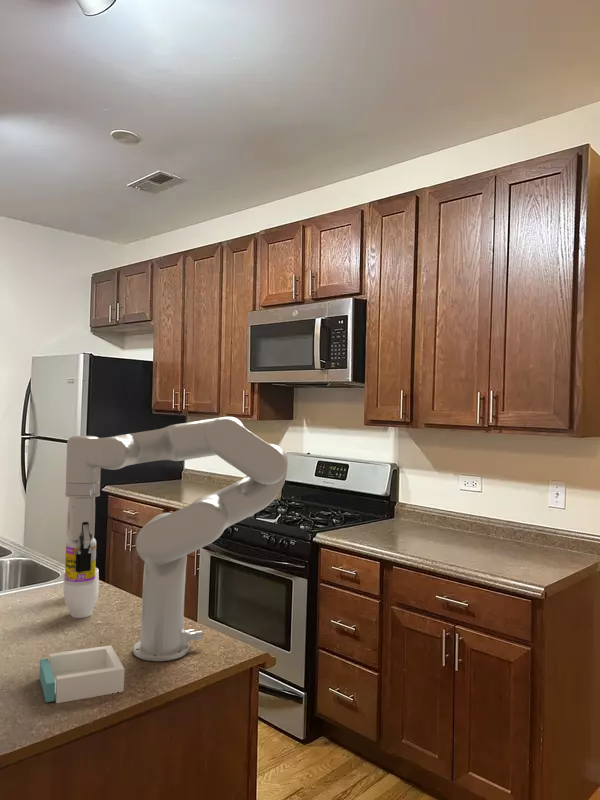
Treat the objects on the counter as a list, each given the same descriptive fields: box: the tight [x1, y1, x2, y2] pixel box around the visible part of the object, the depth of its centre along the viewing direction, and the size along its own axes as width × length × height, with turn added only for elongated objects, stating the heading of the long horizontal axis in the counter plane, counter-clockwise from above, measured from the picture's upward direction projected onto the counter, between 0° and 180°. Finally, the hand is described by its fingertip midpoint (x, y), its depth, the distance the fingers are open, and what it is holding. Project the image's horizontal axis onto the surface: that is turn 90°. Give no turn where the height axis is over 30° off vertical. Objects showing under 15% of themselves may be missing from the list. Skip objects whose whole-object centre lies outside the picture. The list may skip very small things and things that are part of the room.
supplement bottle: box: [64, 534, 97, 586], centre depth 145 cm, size 7×7×13 cm
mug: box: [63, 567, 100, 619], centre depth 168 cm, size 12×9×12 cm
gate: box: [38, 658, 55, 703], centre depth 124 cm, size 2×12×4 cm, turn 28°
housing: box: [48, 644, 125, 704], centre depth 127 cm, size 12×13×4 cm
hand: (80, 566), depth 145 cm, fingers closed on supplement bottle, 6 cm apart
